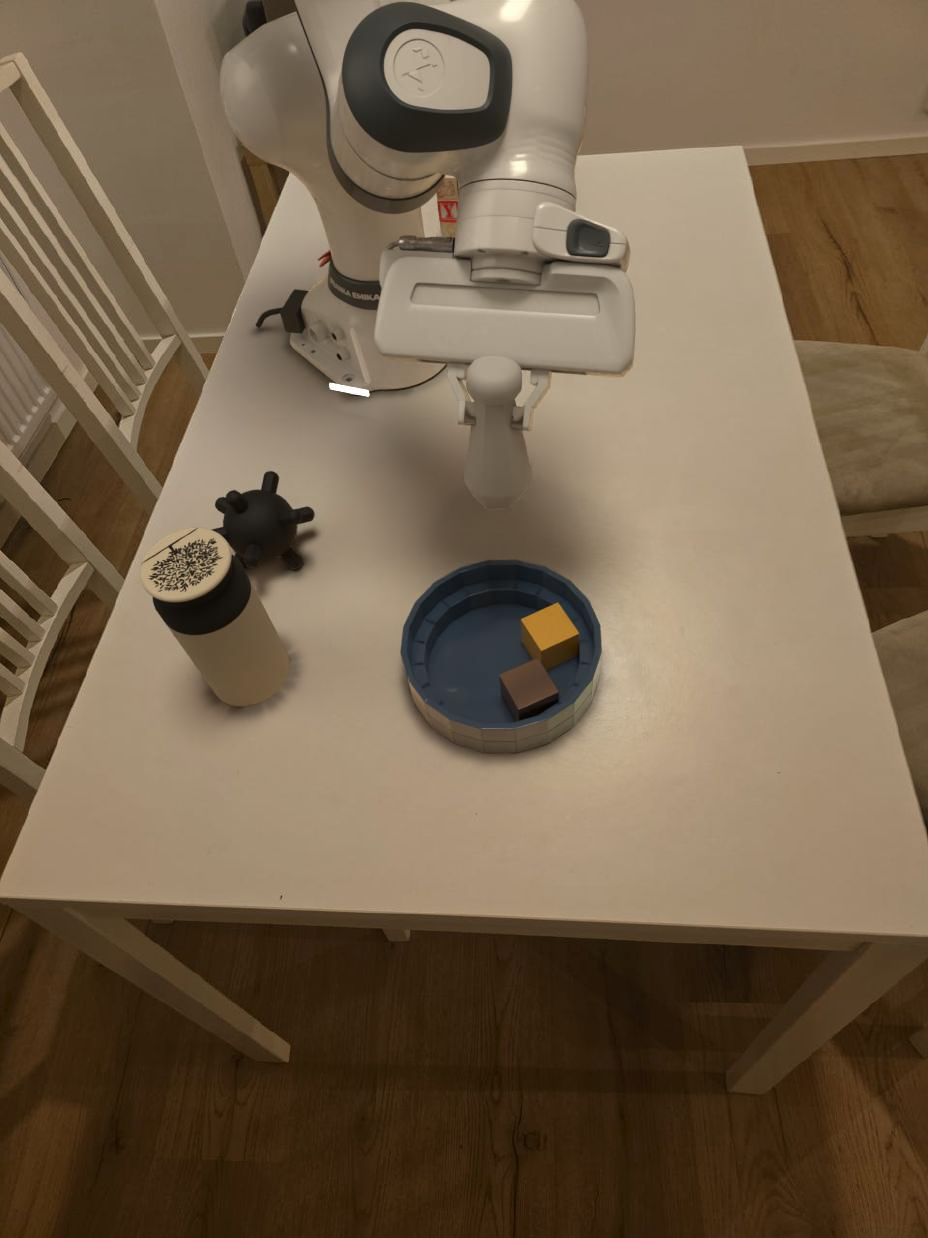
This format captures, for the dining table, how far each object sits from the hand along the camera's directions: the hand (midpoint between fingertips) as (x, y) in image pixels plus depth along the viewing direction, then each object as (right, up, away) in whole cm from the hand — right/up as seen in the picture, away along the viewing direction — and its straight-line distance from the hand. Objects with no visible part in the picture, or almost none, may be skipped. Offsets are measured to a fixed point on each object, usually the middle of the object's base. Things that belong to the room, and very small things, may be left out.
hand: (494, 428), depth 64 cm
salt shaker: (+1, -4, +7) cm, 8 cm away
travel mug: (-24, -21, +17) cm, 35 cm away
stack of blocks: (0, +45, +58) cm, 73 cm away
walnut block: (+4, -23, +11) cm, 26 cm away
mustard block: (+6, -18, +14) cm, 24 cm away
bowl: (+1, -20, +14) cm, 25 cm away
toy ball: (-24, -8, +25) cm, 36 cm away
